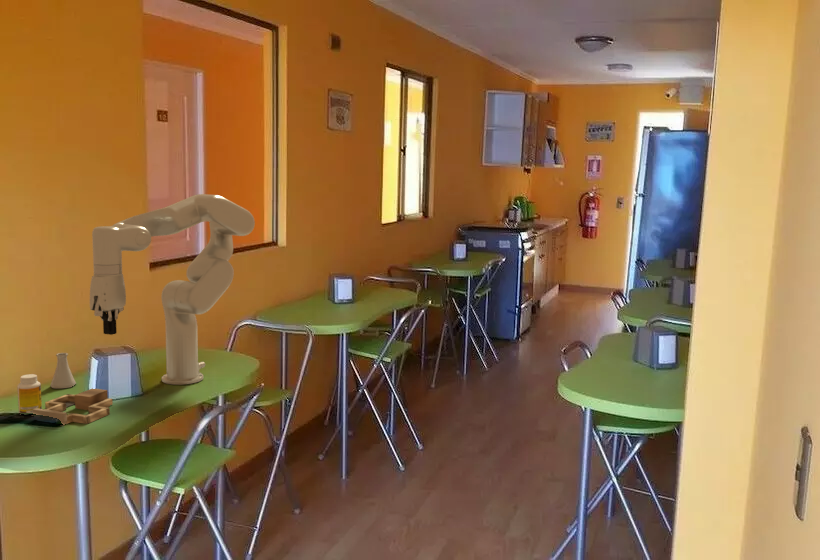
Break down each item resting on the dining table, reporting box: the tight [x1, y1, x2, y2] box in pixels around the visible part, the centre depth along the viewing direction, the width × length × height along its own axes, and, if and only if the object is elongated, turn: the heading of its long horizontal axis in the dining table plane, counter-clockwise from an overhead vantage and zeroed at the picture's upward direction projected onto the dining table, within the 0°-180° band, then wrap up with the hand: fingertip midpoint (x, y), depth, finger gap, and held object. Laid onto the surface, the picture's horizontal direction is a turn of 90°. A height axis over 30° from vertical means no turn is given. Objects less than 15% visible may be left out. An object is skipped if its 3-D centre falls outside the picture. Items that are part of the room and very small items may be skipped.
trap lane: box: [33, 393, 114, 426], centre depth 199 cm, size 18×19×3 cm
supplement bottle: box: [17, 373, 43, 414], centre depth 198 cm, size 6×6×10 cm
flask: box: [49, 352, 77, 389], centre depth 223 cm, size 7×7×10 cm
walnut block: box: [74, 387, 109, 411], centre depth 205 cm, size 7×5×4 cm
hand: (110, 333), depth 211 cm, fingers closed
